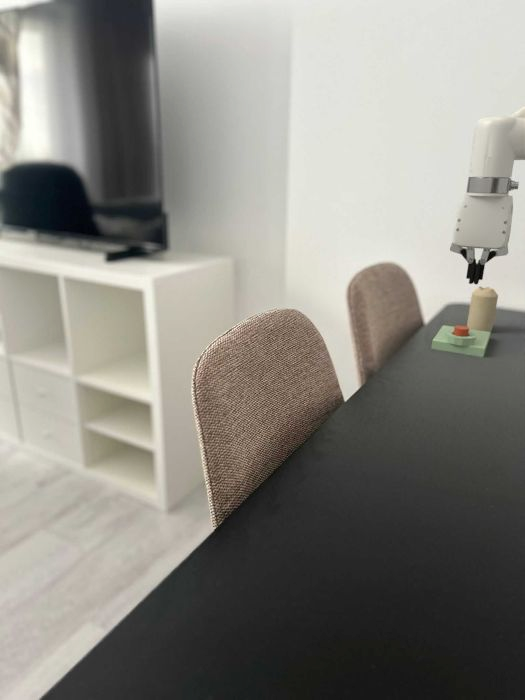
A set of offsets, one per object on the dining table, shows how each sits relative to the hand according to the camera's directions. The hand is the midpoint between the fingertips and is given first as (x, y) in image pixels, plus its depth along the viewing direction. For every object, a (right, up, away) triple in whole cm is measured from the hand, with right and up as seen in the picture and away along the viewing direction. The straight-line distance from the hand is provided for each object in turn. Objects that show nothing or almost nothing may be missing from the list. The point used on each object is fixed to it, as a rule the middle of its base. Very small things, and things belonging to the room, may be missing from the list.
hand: (473, 282), depth 103 cm
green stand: (0, -12, +5) cm, 14 cm away
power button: (-2, -11, +1) cm, 11 cm away
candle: (+8, -9, +16) cm, 20 cm away
